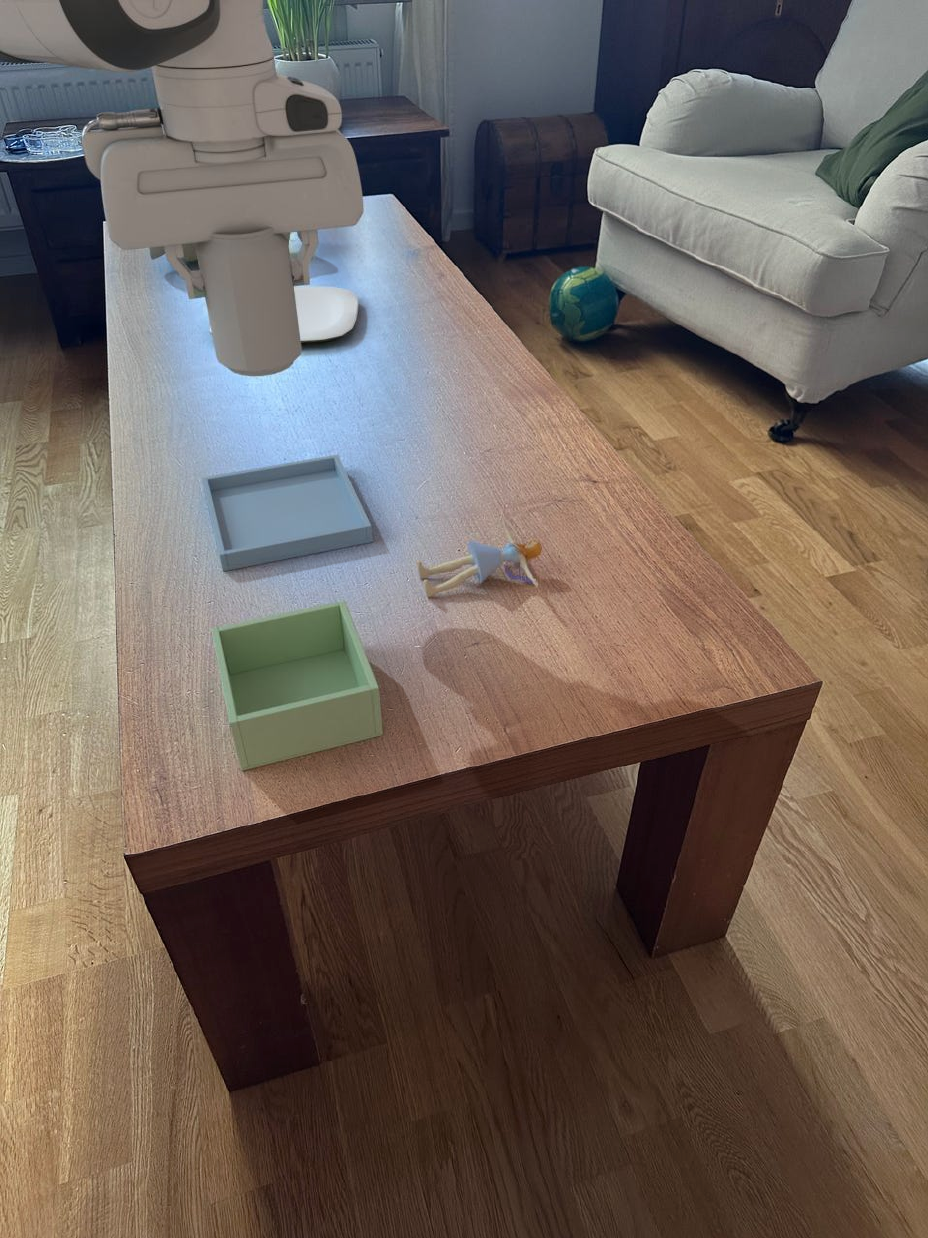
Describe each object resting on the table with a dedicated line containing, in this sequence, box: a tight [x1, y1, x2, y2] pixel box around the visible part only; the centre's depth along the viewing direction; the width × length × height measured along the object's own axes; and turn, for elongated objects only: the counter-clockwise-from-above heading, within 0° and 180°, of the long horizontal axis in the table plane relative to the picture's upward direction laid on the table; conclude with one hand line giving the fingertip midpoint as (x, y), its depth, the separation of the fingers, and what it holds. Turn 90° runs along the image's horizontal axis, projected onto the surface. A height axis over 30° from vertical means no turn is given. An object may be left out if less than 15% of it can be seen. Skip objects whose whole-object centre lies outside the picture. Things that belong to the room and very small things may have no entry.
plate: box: [208, 285, 360, 344], centre depth 134 cm, size 22×22×2 cm
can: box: [195, 227, 303, 377], centre depth 75 cm, size 8×8×12 cm
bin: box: [210, 599, 384, 772], centre depth 71 cm, size 11×11×5 cm
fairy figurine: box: [416, 516, 543, 598], centre depth 85 cm, size 12×5×12 cm
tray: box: [201, 454, 374, 572], centre depth 93 cm, size 15×15×2 cm
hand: (249, 289), depth 75 cm, fingers closed on can, 7 cm apart
